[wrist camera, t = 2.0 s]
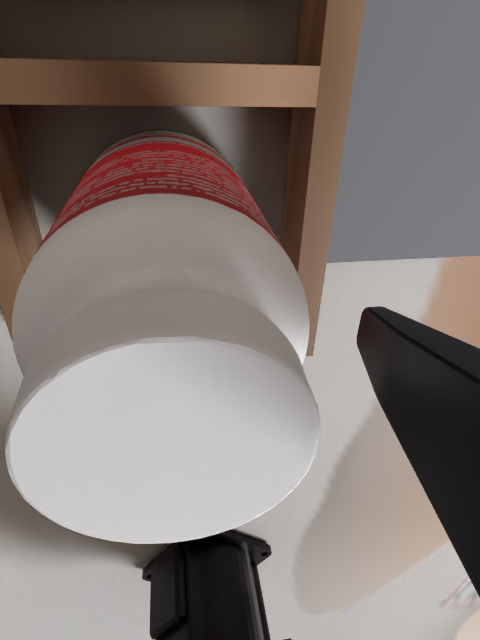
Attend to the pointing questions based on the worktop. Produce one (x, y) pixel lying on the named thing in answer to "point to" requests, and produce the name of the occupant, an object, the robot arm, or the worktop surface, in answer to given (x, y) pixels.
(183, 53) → the worktop surface
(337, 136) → the rack
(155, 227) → the pill bottle
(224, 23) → the worktop surface
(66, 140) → the worktop surface
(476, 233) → the mat
